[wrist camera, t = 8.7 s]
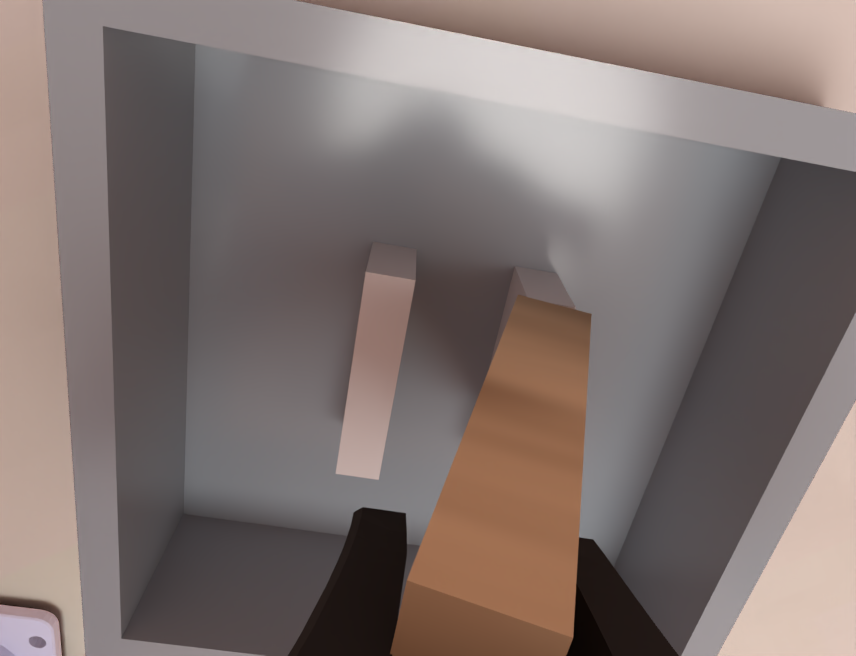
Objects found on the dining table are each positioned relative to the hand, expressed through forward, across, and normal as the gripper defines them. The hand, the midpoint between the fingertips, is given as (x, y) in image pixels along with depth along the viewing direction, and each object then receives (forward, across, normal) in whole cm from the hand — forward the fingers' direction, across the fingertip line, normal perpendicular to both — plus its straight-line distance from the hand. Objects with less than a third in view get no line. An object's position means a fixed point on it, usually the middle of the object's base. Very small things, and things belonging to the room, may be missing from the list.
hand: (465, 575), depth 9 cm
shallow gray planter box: (+8, 0, 0) cm, 8 cm away
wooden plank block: (+5, -2, 0) cm, 5 cm away
